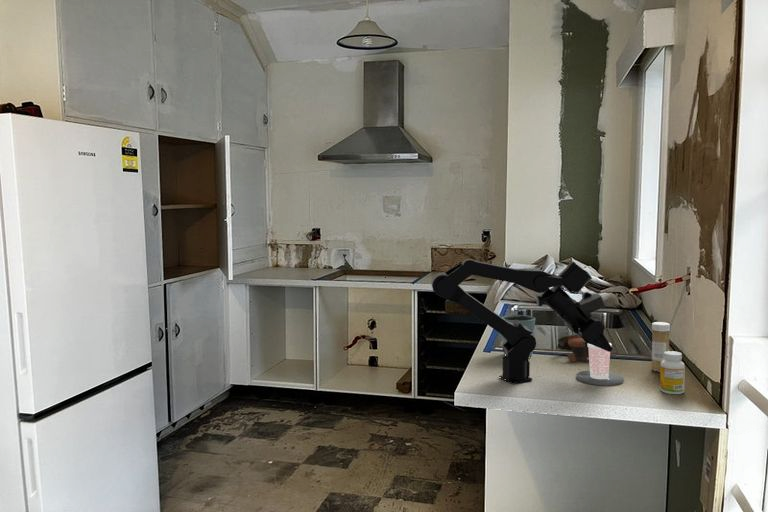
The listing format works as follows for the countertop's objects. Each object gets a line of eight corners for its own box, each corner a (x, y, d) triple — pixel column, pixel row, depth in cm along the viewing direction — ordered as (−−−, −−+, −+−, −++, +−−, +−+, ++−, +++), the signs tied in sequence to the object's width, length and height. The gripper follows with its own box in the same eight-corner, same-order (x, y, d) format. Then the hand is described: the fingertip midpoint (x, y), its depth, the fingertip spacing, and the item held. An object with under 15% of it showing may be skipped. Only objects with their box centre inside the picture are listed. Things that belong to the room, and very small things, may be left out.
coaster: (599, 388, 152) (599, 386, 152) (566, 376, 163) (566, 374, 163) (634, 381, 157) (634, 379, 157) (600, 370, 168) (600, 368, 168)
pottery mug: (559, 363, 177) (553, 337, 181) (563, 370, 185) (558, 344, 189) (600, 356, 174) (594, 328, 177) (603, 362, 182) (597, 336, 185)
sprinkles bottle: (672, 371, 166) (673, 323, 164) (662, 374, 163) (664, 325, 162) (657, 367, 169) (658, 320, 168) (647, 370, 167) (648, 322, 166)
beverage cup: (587, 379, 158) (587, 327, 156) (586, 372, 164) (586, 322, 162) (612, 380, 156) (612, 327, 155) (610, 374, 162) (610, 323, 161)
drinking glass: (499, 358, 182) (499, 319, 181) (503, 350, 192) (503, 313, 191) (534, 360, 179) (534, 321, 178) (536, 352, 189) (536, 314, 188)
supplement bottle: (663, 386, 152) (664, 349, 152) (686, 390, 149) (687, 352, 148) (657, 392, 148) (658, 353, 147) (681, 396, 145) (681, 356, 144)
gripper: (596, 289, 149) (641, 332, 149) (576, 279, 167) (615, 318, 168) (564, 320, 150) (608, 363, 150) (547, 307, 168) (586, 345, 169)
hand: (605, 346), depth 159 cm, fingers open, 9 cm apart
